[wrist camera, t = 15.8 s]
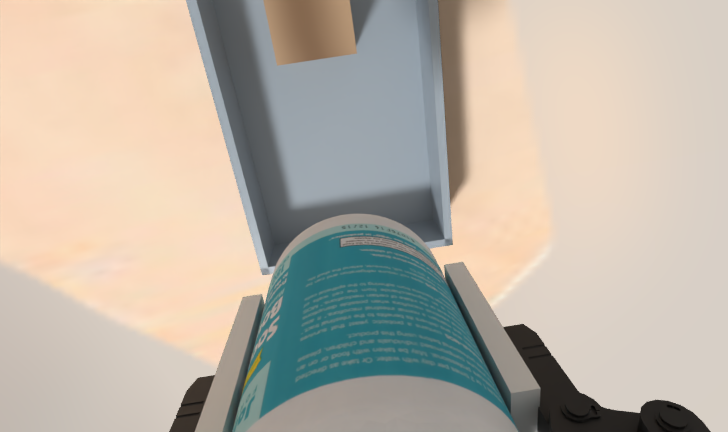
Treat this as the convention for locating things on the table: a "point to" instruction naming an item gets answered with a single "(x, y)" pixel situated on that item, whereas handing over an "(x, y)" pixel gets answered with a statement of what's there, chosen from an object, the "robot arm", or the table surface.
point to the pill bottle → (365, 340)
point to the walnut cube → (310, 29)
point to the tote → (331, 121)
